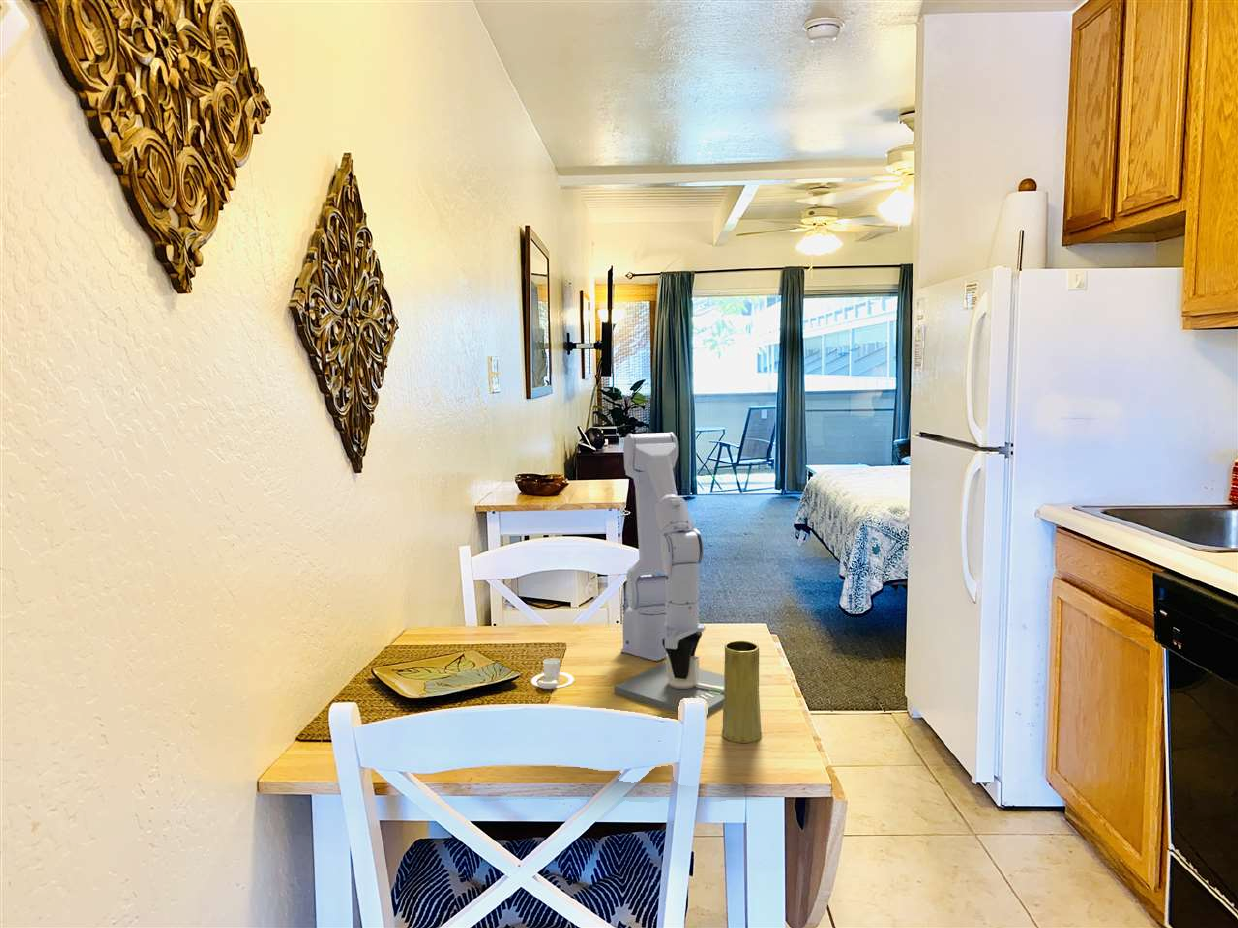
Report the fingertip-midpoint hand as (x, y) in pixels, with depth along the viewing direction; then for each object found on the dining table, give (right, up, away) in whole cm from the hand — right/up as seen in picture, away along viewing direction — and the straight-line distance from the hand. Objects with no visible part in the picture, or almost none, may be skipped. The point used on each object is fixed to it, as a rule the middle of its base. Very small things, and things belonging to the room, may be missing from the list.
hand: (682, 675), depth 140 cm
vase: (+8, -5, -17) cm, 19 cm away
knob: (+2, -2, -1) cm, 3 cm away
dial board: (0, -3, 0) cm, 3 cm away
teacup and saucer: (-26, -4, +5) cm, 27 cm away
